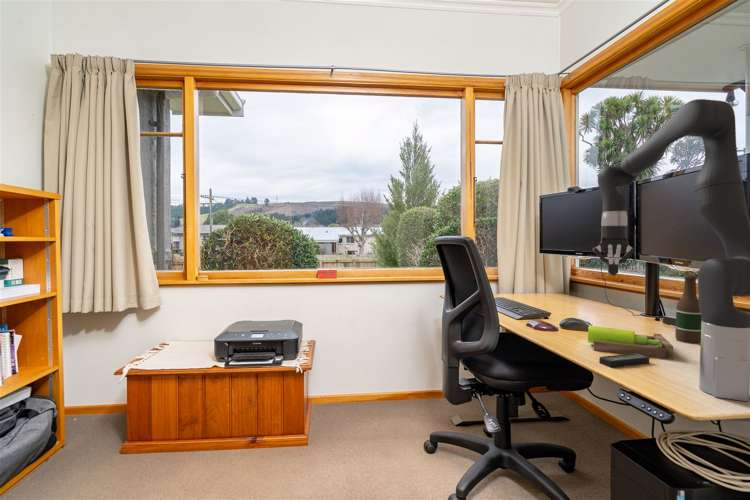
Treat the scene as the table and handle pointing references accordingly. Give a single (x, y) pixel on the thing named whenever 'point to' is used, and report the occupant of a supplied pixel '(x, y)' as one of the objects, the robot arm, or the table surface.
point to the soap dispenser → (618, 336)
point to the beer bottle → (688, 314)
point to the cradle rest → (637, 347)
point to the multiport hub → (624, 360)
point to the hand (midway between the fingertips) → (613, 275)
